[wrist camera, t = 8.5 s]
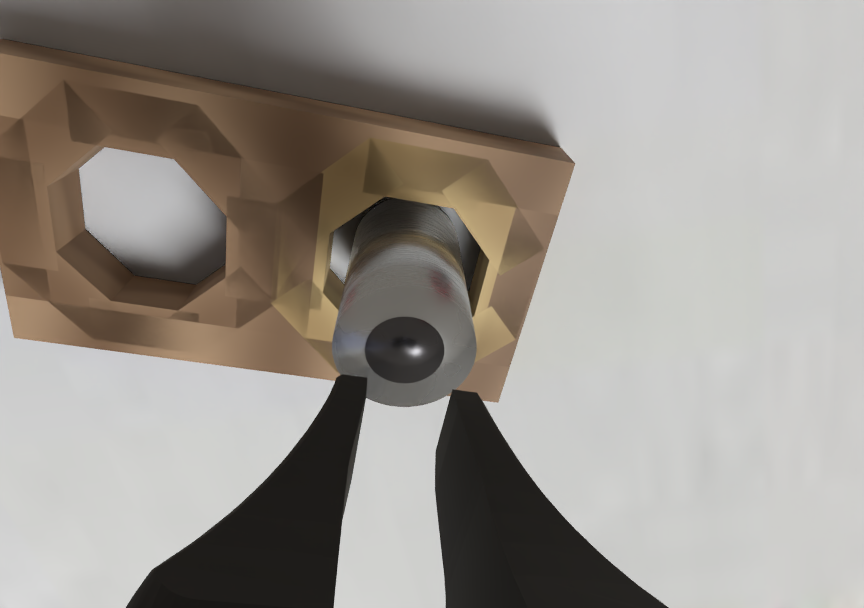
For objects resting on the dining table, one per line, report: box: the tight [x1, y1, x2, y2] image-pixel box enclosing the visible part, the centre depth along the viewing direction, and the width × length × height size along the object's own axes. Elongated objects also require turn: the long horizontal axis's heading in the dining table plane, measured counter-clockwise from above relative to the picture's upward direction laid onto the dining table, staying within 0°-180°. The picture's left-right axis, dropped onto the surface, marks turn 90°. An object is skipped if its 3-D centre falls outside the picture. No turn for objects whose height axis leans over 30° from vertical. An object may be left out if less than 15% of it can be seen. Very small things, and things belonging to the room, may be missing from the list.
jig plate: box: [0, 39, 575, 402], centre depth 20 cm, size 18×10×2 cm, turn 79°
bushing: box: [332, 198, 477, 407], centre depth 19 cm, size 4×4×7 cm
